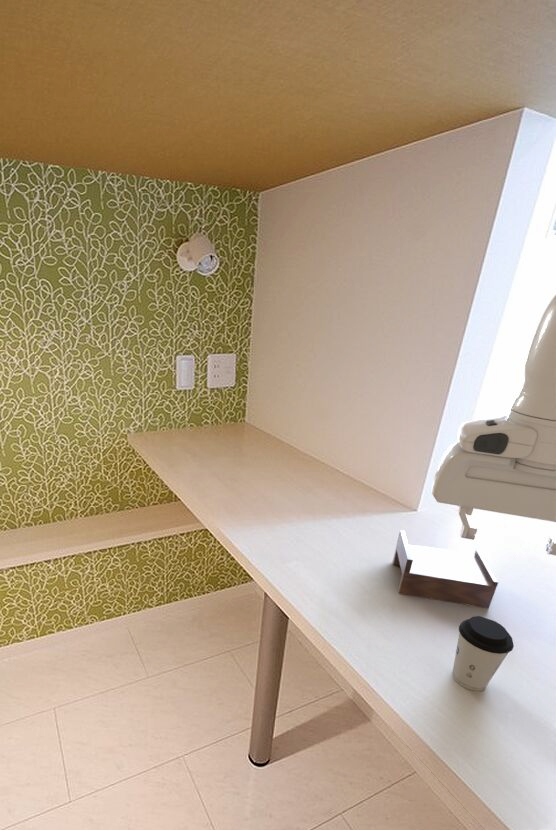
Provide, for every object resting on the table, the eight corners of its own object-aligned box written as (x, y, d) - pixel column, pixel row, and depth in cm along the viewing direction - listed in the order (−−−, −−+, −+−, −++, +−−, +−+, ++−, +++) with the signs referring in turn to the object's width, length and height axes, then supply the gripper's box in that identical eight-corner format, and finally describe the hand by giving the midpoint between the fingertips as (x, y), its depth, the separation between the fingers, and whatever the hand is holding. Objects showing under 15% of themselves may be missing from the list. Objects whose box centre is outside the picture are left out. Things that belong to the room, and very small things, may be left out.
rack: (472, 574, 93) (483, 541, 89) (488, 608, 82) (501, 573, 79) (392, 561, 96) (400, 530, 93) (398, 593, 86) (407, 559, 83)
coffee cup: (506, 690, 65) (529, 638, 60) (471, 702, 63) (492, 650, 58) (466, 657, 71) (485, 608, 66) (433, 667, 69) (450, 617, 64)
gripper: (653, 444, 48) (601, 551, 54) (446, 422, 55) (421, 518, 61) (682, 461, 43) (621, 578, 49) (449, 434, 50) (422, 538, 56)
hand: (508, 544), depth 55 cm, fingers open, 8 cm apart
